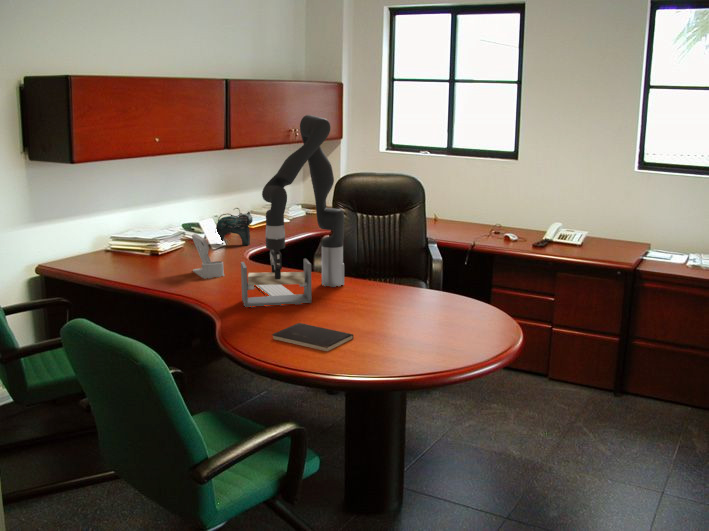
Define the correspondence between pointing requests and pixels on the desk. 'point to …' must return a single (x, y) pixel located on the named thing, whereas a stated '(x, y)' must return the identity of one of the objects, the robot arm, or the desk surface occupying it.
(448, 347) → the desk surface
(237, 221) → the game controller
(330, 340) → the hardcover book
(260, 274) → the shelf board
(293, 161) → the robot arm
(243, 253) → the desk surface
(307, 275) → the shelf frame
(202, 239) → the phone holder
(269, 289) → the baseboard
